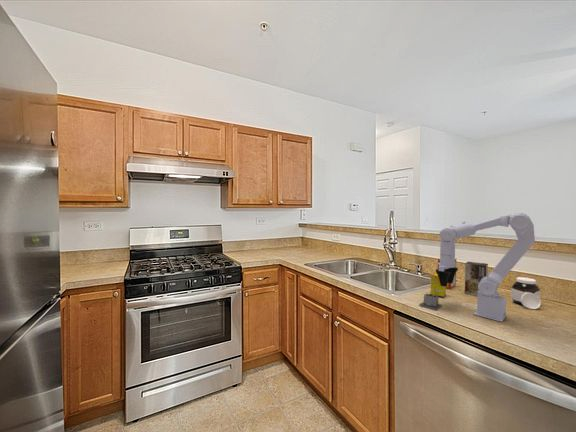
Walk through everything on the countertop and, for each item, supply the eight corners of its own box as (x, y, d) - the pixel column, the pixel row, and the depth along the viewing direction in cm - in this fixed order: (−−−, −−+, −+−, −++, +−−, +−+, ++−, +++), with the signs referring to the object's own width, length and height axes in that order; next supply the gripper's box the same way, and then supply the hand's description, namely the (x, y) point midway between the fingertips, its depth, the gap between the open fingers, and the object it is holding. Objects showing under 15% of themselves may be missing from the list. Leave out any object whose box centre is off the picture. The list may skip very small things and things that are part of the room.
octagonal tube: (439, 304, 121) (439, 296, 121) (434, 307, 117) (435, 298, 117) (427, 301, 125) (427, 293, 125) (422, 304, 121) (422, 295, 121)
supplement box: (432, 292, 140) (433, 272, 140) (445, 295, 136) (446, 274, 136) (430, 295, 135) (430, 274, 135) (443, 298, 132) (444, 276, 131)
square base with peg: (441, 306, 121) (442, 297, 121) (435, 310, 116) (436, 300, 116) (425, 302, 126) (425, 293, 126) (419, 305, 121) (419, 296, 121)
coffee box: (487, 294, 137) (488, 263, 137) (485, 297, 133) (486, 265, 132) (466, 290, 143) (467, 261, 143) (464, 293, 139) (465, 262, 138)
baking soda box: (442, 283, 157) (443, 256, 156) (455, 286, 152) (456, 258, 151) (437, 286, 150) (438, 258, 150) (450, 289, 146) (451, 260, 145)
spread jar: (525, 300, 130) (526, 276, 129) (552, 309, 118) (553, 283, 118) (504, 301, 127) (505, 277, 127) (529, 311, 116) (530, 284, 116)
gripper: (443, 251, 128) (442, 279, 129) (431, 255, 119) (430, 285, 119) (460, 253, 123) (459, 283, 123) (449, 257, 113) (448, 289, 114)
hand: (446, 284), depth 121 cm, fingers open, 7 cm apart
